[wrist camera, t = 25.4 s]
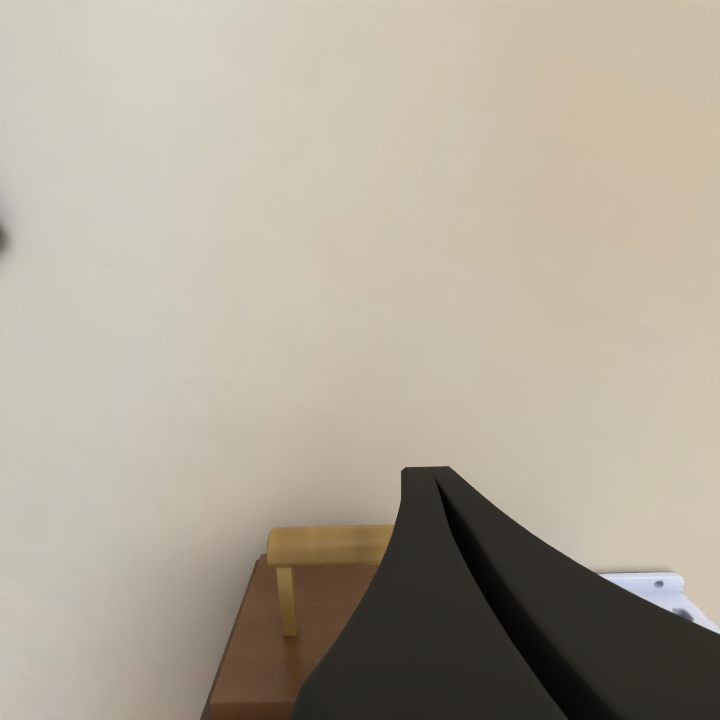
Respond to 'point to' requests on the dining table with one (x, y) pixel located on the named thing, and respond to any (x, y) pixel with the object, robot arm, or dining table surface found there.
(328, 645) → the drawer
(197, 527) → the dining table surface
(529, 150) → the dining table surface
